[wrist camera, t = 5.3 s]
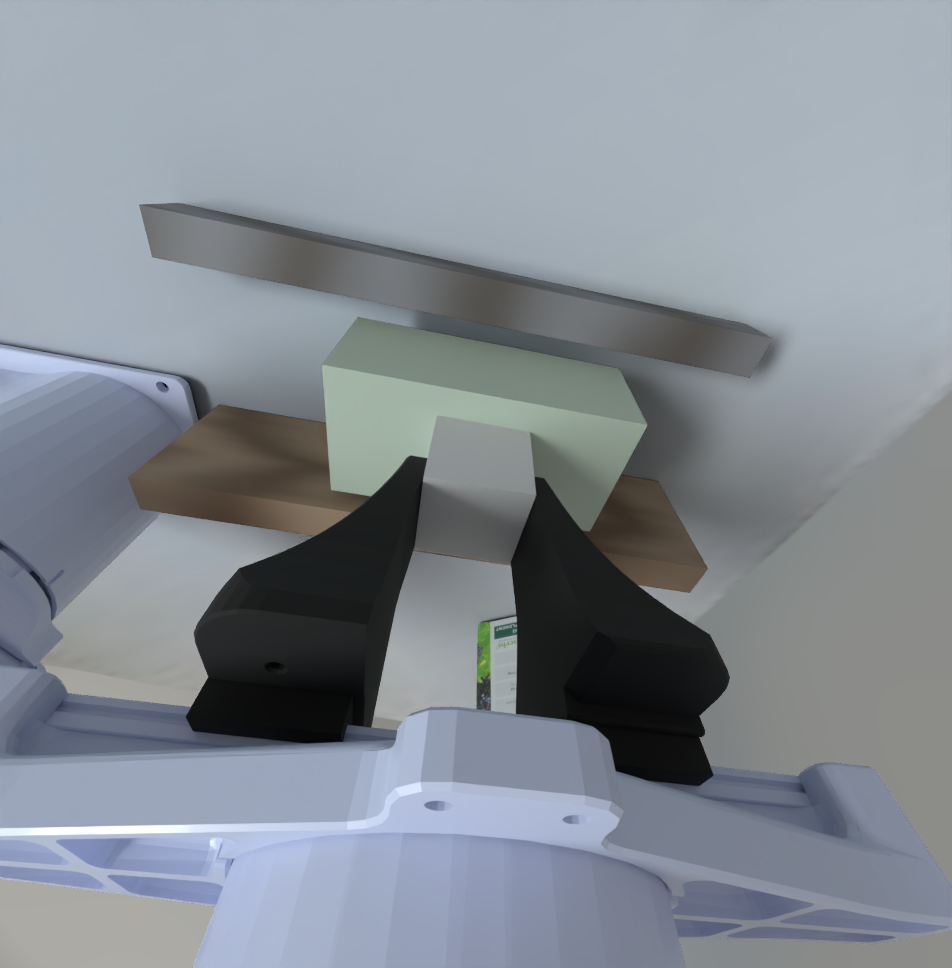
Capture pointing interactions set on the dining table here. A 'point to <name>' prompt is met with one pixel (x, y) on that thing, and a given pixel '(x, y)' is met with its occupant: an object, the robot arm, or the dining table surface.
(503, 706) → the syrup box
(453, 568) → the dining table surface
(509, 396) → the mint block with knob
